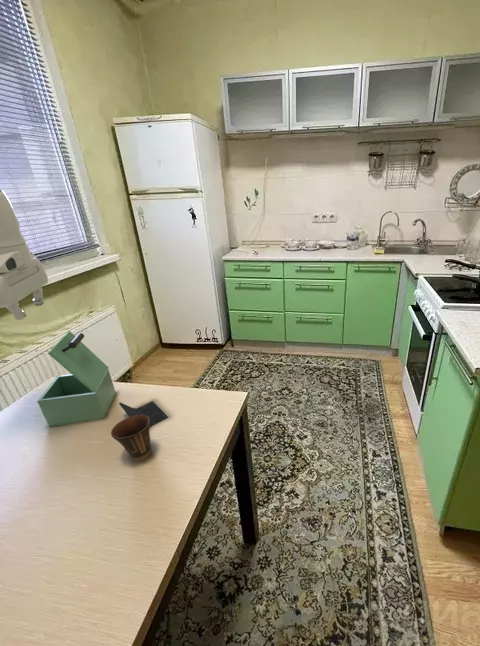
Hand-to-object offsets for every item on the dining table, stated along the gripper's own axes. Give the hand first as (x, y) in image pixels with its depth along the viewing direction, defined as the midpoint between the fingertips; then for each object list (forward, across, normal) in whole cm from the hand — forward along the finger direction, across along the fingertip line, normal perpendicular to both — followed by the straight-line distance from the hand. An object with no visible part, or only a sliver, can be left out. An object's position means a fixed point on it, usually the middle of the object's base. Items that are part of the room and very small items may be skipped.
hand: (31, 311), depth 83 cm
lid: (+16, 0, +7) cm, 18 cm away
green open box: (+33, 0, +3) cm, 33 cm away
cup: (+33, +22, +24) cm, 46 cm away
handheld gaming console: (+33, +8, +22) cm, 41 cm away
